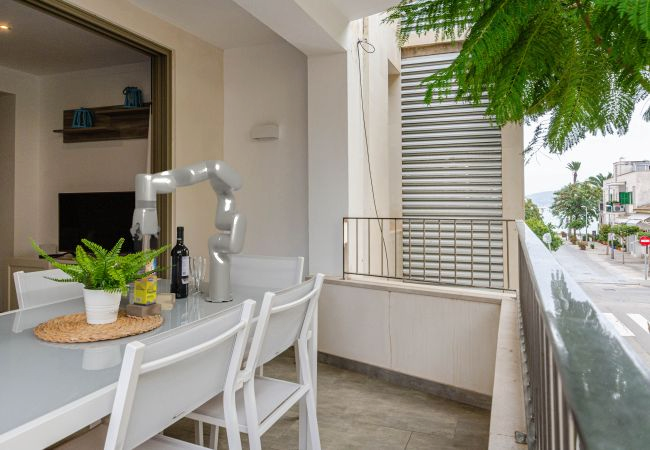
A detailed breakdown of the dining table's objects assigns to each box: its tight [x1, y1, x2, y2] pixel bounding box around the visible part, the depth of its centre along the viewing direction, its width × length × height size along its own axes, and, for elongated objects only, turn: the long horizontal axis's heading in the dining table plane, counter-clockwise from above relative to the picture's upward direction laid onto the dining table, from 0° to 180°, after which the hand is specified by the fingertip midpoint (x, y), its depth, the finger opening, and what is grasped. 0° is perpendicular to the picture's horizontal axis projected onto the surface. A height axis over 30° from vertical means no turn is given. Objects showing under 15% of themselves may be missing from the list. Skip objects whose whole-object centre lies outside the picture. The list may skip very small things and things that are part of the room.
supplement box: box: [134, 275, 158, 306], centre depth 171 cm, size 6×6×11 cm
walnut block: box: [125, 303, 162, 318], centre depth 171 cm, size 9×9×5 cm
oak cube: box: [156, 292, 176, 311], centre depth 187 cm, size 6×6×6 cm
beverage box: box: [128, 256, 157, 305], centre depth 189 cm, size 7×11×22 cm, turn 179°
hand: (146, 249), depth 171 cm, fingers open, 9 cm apart
